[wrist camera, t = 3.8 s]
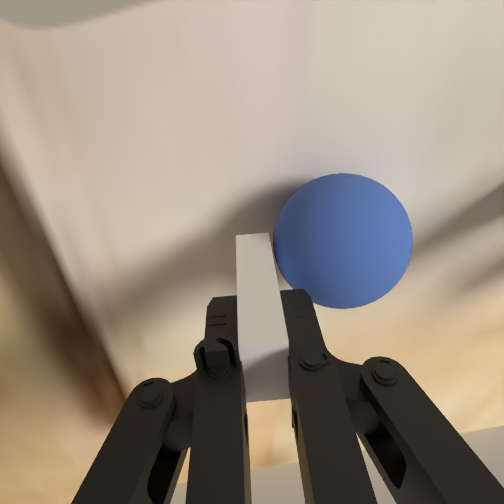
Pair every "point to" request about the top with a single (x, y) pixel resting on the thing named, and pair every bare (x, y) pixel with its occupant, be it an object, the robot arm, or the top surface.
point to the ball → (343, 240)
